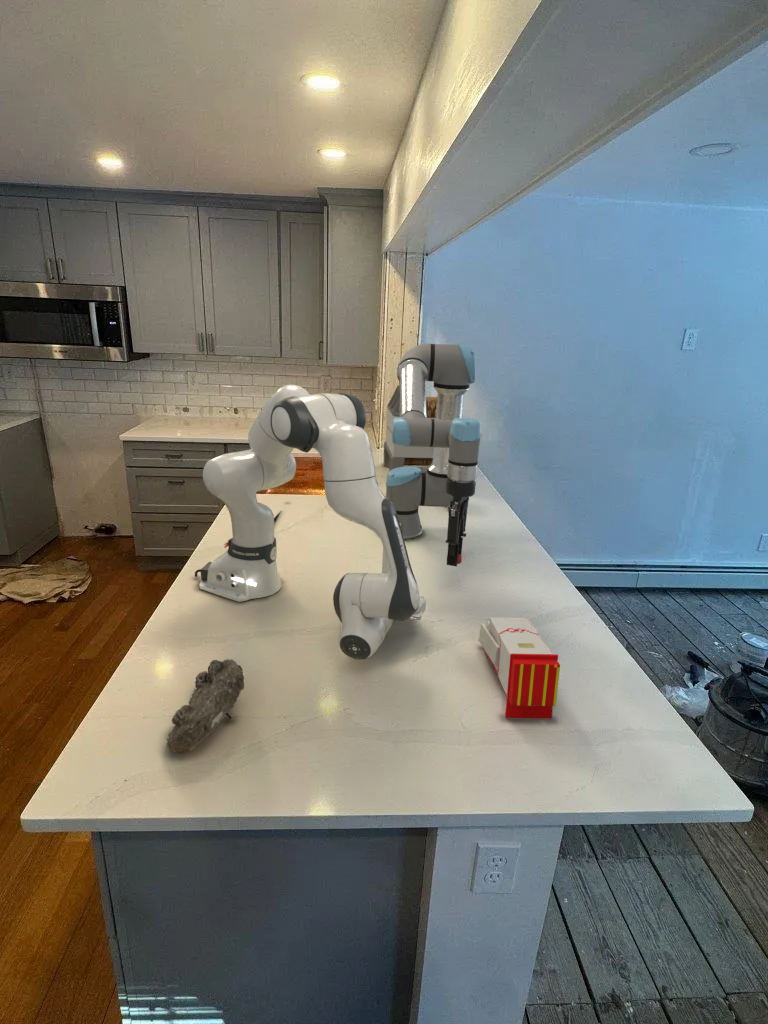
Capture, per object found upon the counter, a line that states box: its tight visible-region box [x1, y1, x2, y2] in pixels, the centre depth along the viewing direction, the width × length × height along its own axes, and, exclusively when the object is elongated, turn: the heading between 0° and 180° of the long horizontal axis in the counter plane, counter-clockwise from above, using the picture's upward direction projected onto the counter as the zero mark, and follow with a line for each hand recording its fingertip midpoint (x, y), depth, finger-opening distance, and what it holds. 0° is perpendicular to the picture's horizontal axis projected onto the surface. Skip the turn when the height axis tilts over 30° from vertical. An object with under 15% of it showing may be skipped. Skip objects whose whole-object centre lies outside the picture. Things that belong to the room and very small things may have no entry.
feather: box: [274, 510, 282, 524], centre depth 212 cm, size 2×28×2 cm
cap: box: [457, 554, 463, 565], centre depth 154 cm, size 4×4×2 cm
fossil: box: [166, 658, 245, 754], centre depth 106 cm, size 22×10×15 cm
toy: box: [478, 616, 561, 720], centre depth 122 cm, size 12×13×30 cm
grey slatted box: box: [383, 384, 437, 472], centre depth 268 cm, size 34×33×41 cm
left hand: (392, 587), depth 147 cm, fingers closed on bottle, 5 cm apart
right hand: (453, 561), depth 154 cm, fingers closed on cap, 4 cm apart
